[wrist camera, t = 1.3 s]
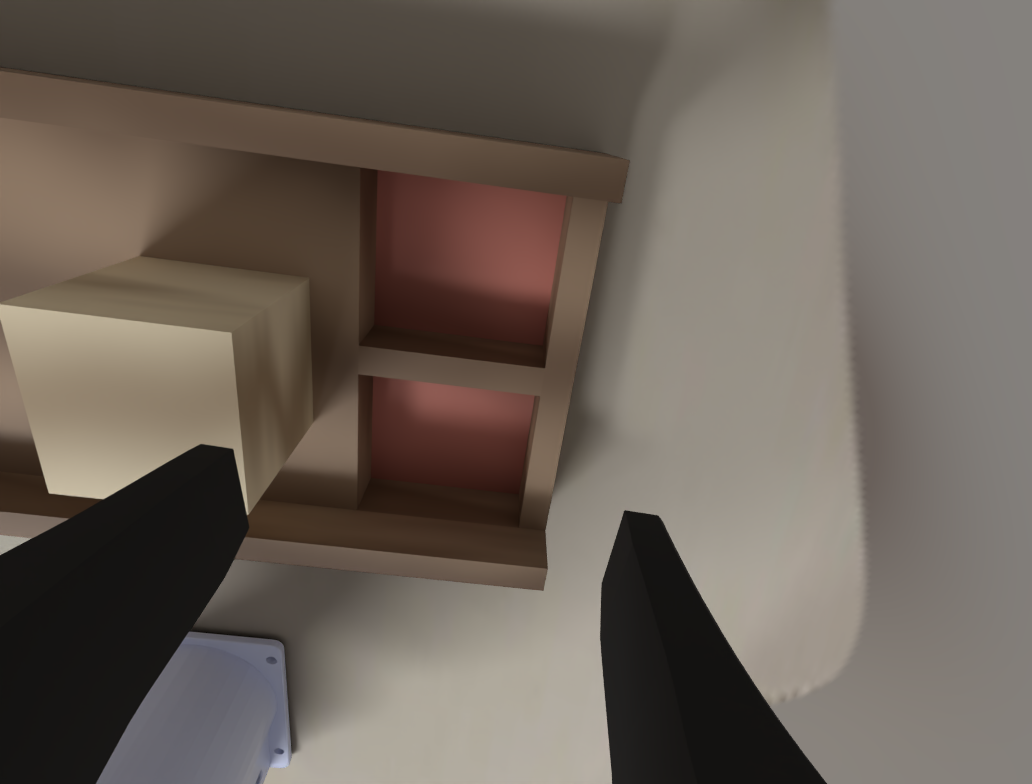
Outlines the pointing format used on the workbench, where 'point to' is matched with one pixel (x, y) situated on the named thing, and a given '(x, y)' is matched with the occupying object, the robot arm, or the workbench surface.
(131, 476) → the block
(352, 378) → the long open wooden box
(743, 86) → the workbench surface
